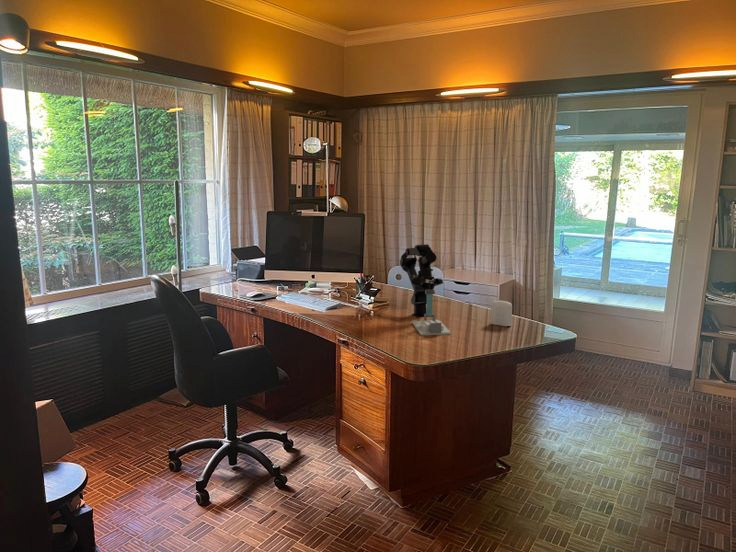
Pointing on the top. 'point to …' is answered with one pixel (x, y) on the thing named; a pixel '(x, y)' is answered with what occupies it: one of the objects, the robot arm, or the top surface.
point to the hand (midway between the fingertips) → (429, 297)
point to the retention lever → (429, 302)
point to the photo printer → (501, 313)
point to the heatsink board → (431, 327)
